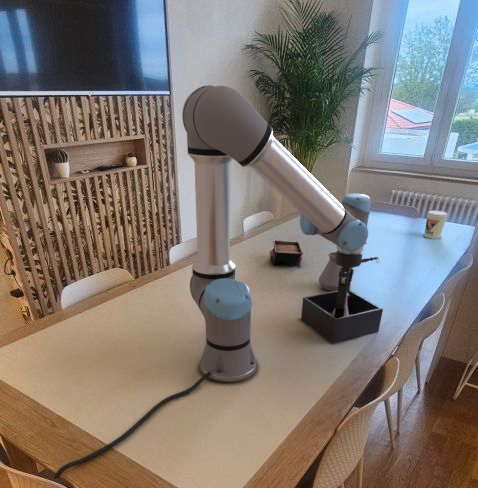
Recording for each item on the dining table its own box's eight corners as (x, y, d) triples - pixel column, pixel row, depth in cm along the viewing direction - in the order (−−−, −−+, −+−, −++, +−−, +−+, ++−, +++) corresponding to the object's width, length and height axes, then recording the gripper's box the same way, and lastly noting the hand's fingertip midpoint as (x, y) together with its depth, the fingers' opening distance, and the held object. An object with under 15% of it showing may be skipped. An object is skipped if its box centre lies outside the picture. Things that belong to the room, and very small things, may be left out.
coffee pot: (312, 288, 166) (316, 250, 157) (326, 279, 173) (330, 242, 165) (365, 302, 155) (373, 262, 147) (377, 292, 163) (385, 253, 155)
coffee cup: (418, 235, 227) (423, 211, 220) (431, 233, 230) (437, 209, 224) (432, 240, 220) (438, 215, 213) (445, 237, 223) (452, 213, 216)
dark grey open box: (332, 343, 130) (335, 319, 126) (300, 319, 144) (302, 297, 139) (378, 331, 137) (383, 308, 132) (344, 310, 150) (347, 288, 146)
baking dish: (302, 261, 198) (302, 238, 194) (303, 268, 181) (303, 244, 177) (270, 262, 199) (269, 239, 195) (269, 270, 183) (268, 245, 179)
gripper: (358, 263, 118) (347, 337, 130) (366, 242, 134) (355, 310, 146) (331, 260, 120) (322, 333, 132) (341, 239, 136) (332, 306, 148)
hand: (339, 321), depth 139 cm, fingers closed on flask, 7 cm apart
